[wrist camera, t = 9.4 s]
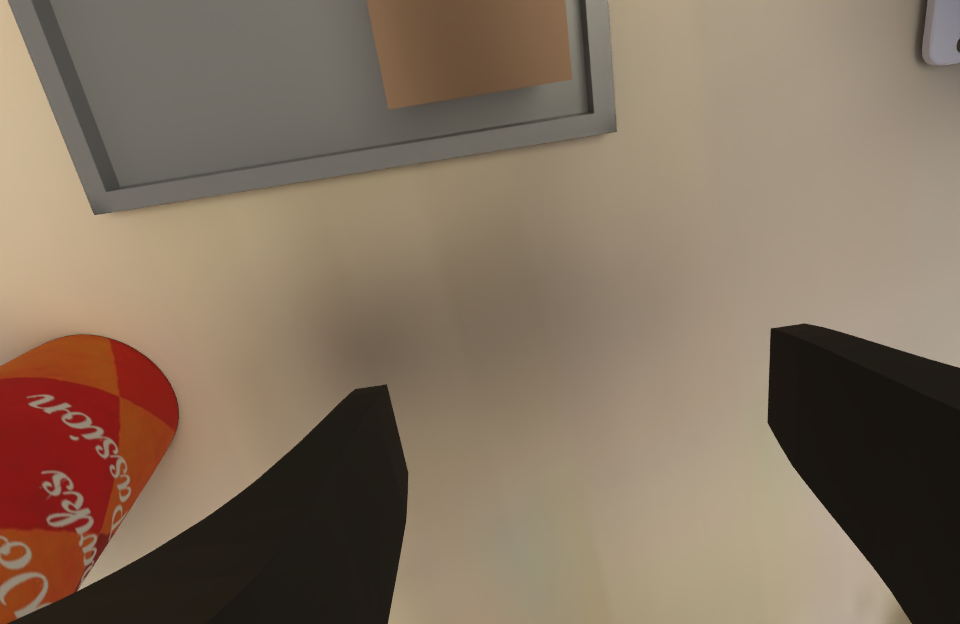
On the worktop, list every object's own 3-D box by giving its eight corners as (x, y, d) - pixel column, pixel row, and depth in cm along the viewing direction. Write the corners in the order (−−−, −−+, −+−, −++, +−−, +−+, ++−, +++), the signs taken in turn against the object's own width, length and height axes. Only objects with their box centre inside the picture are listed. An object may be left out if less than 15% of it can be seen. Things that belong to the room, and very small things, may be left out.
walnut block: (527, -86, 16) (552, -145, 11) (544, 75, 18) (572, 79, 13) (379, -60, 16) (345, -108, 12) (408, 97, 18) (388, 109, 13)
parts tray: (586, -175, 16) (596, -193, 15) (607, 127, 19) (616, 131, 17) (8, -71, 16) (-25, -81, 15) (115, 206, 19) (94, 214, 18)
